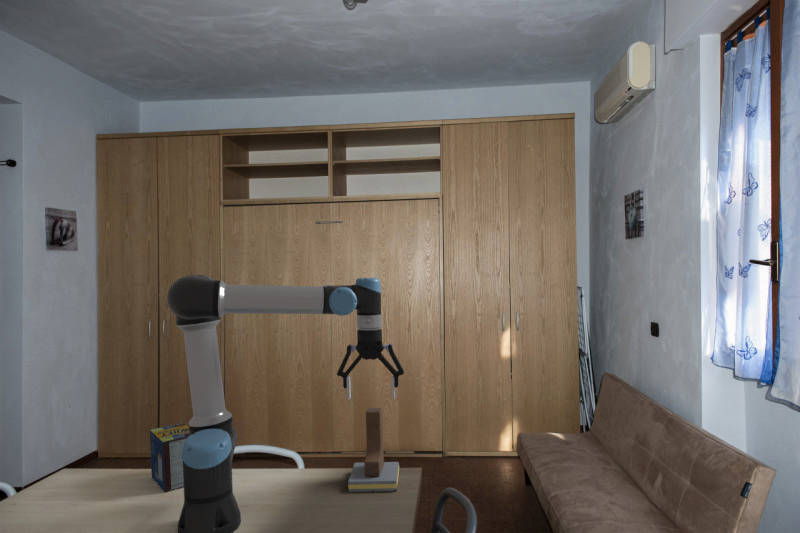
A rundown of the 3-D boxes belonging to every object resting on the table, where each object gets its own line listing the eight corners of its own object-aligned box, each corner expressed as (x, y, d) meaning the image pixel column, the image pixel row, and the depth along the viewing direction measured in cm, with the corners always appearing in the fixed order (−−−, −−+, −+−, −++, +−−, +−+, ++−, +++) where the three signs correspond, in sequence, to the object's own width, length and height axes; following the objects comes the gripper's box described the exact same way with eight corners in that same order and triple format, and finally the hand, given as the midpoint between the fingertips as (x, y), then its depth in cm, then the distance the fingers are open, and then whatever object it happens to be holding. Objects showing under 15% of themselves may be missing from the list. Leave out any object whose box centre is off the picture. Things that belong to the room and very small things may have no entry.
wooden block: (379, 477, 149) (377, 416, 149) (364, 477, 150) (362, 416, 150) (384, 465, 158) (382, 407, 158) (370, 464, 159) (368, 407, 159)
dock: (348, 492, 147) (348, 481, 147) (354, 472, 161) (354, 462, 161) (397, 491, 146) (396, 481, 146) (399, 471, 160) (399, 461, 160)
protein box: (184, 468, 169) (183, 422, 169) (200, 482, 157) (198, 433, 157) (150, 477, 162) (149, 429, 162) (164, 493, 150) (162, 441, 150)
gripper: (326, 331, 150) (328, 402, 150) (410, 329, 149) (412, 401, 149) (330, 327, 158) (332, 395, 158) (410, 326, 157) (412, 394, 157)
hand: (371, 398), depth 153 cm, fingers open, 13 cm apart
